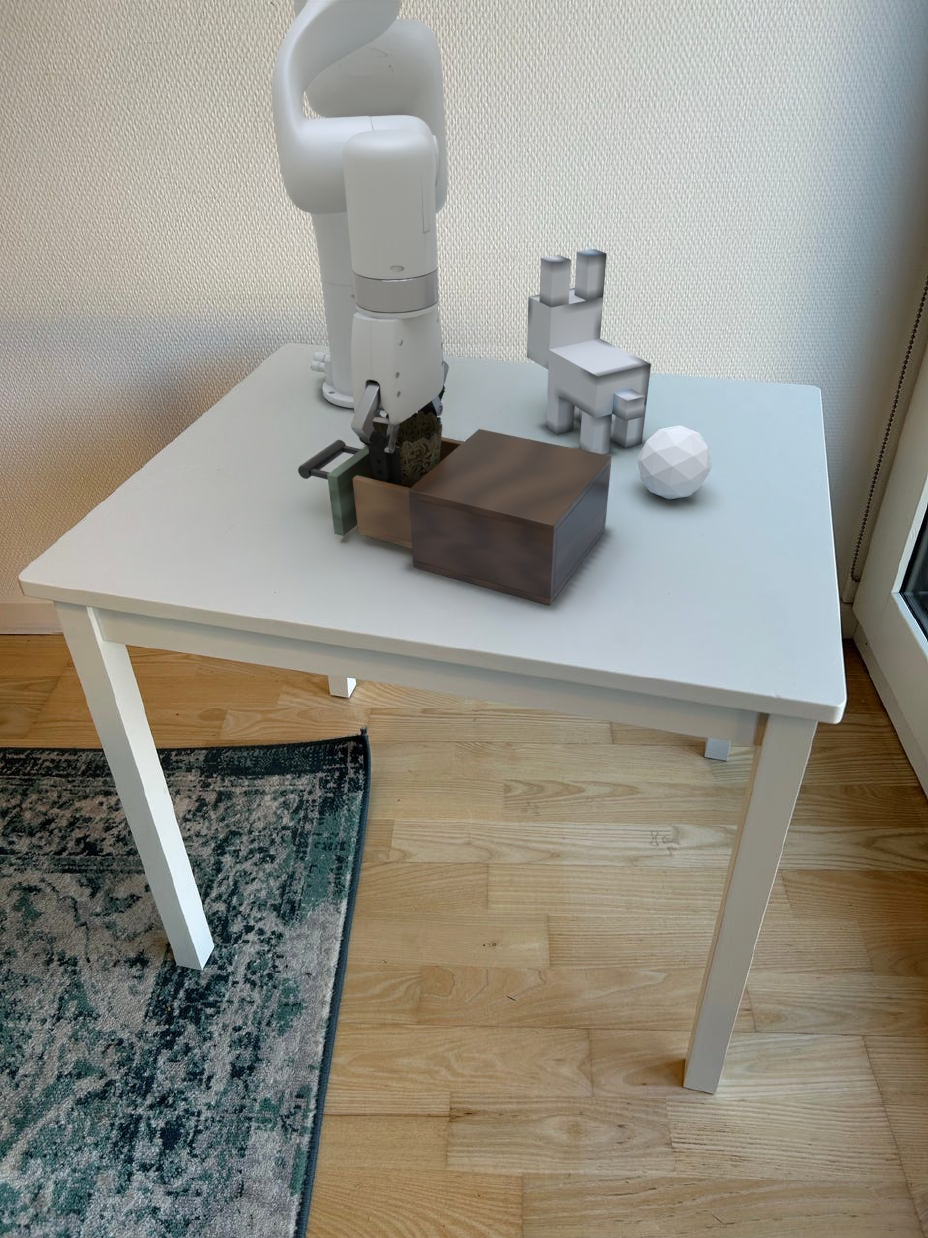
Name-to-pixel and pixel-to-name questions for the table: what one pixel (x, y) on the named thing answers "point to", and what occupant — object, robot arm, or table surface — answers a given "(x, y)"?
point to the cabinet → (510, 514)
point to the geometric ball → (674, 462)
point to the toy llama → (584, 356)
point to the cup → (417, 446)
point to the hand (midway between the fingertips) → (407, 466)
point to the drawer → (366, 494)
